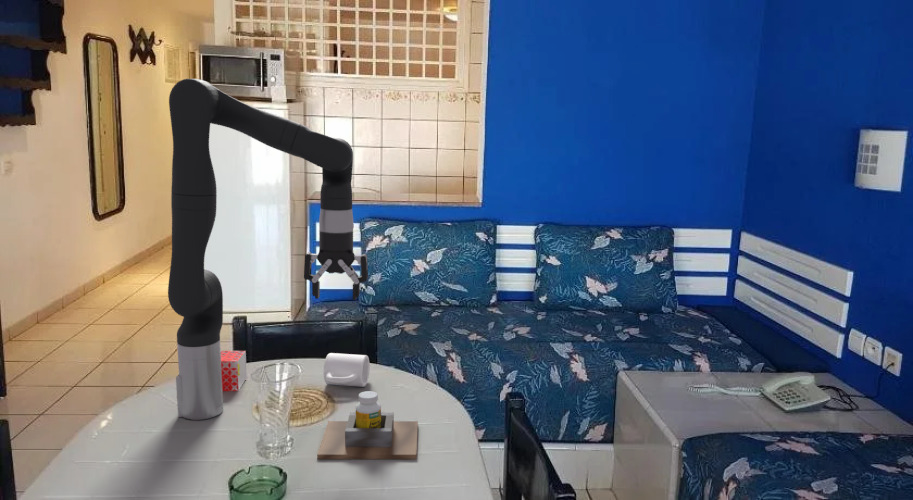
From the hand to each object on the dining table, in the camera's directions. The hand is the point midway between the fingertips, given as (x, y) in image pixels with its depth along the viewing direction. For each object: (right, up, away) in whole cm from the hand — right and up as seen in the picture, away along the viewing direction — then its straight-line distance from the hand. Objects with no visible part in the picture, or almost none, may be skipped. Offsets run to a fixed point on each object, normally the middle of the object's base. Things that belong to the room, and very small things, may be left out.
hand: (336, 298), depth 165 cm
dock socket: (+9, -30, -11) cm, 33 cm away
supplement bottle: (+9, -29, -11) cm, 32 cm away
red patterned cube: (-31, -24, +19) cm, 43 cm away
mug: (-1, -24, +19) cm, 31 cm away
